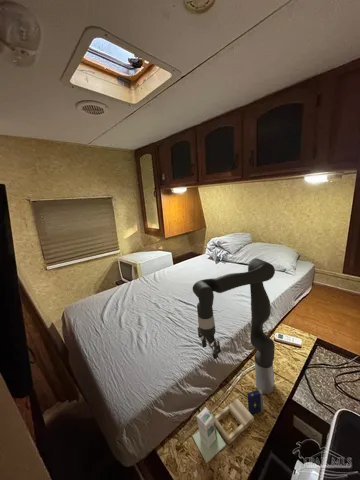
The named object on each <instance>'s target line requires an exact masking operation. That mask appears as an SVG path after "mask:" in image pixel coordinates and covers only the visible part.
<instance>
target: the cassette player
mask: <svg viewBox="0 0 360 480" xmlns="http://www.w3.org/2000/svg"><path fill="white" fill-rule="evenodd" d="M247 408H248V409H247V410H248V411H249V412H250V413H251V415H252V416H254V415H257V414H259V413H262V412H264V410H265V409H264V393H263V392H262V390H261V389H256V390H255V389H254V390H253V391H252V390H251V391H250V392H248V393H247Z"/></svg>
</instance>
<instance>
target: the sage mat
mask: <svg viewBox="0 0 360 480" xmlns="http://www.w3.org/2000/svg"><path fill="white" fill-rule="evenodd" d="M216 432H217V441H216V442H215V444H214V445H213V446H212V447H211V449H210V450H209V449H208V448H207V447H206V446H205V444H204V443H203V442H202V441H201V439H200V434H199V430H198V431H197V432H195V433H194V434H193V435H192V439H193V441H194V442H195V444H196V446H197V448H198V451H199V452H200V453H201V455H202V458H203V460H204V462H205V463H206V464H207V463H209V462H210V461H211V459H213V458H214V457H215V456H216V455H217V454H218V453H219V452H220V451H221V450H222V449H224V448H225V447H226V446H227V444H226V441H225V439H223V438H222V437H223V436H221V433H219V430H217V429H216Z"/></svg>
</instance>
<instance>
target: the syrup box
mask: <svg viewBox="0 0 360 480" xmlns="http://www.w3.org/2000/svg"><path fill="white" fill-rule="evenodd" d="M214 417H215V415H214V414H213V413H212V412H211V410H209V408H207V407H206V406H204V408H203V409H202V410H200V412H199V413H198V414H197V415H196V421H197V425H198V431H199V434H200V439H201V441H202V442H203V443H204V444H205V446H206V447H207V448H208V449H209V450H210V449H211V447H212V446H213V445H214V444H215V442H216V441H217V432H216V430H217V426H216V425H215V418H214Z"/></svg>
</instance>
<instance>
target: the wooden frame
mask: <svg viewBox="0 0 360 480" xmlns="http://www.w3.org/2000/svg"><path fill="white" fill-rule="evenodd" d="M229 413H230V414H231V415H232V417H233V418H234V419H235V421H236V422H237V424H239V426H237V427H236V428H235V429H234V430H233V431H232V432H231V433H229V434H228V433H227V432H226V430H225V429H224V428H223V426H222V424H221V423H220V421H221V420H222V419H223V418H224V417H225V416H227V415H228V414H229ZM214 418H215V425H216V429H218V432H220V435H222V437H223V438H224V441H225V442H226V443H227V444H228V445H230V444H231V443H232V442H233V441H234V440H235V439H236V438H237V437H239V435H241V434H242V432H244V431H245V430H246V429H247V428H248V427H249V426H250V425H252V423H253V422H255V418H254V415H251V413H250V412H249V411H248V409H247V408H246V406H245V405H243V403H242V402H241V401H240V400H239V398H236V399H234V400H233V401H232V402H231V403H230V404H228V405H227V406H225V407H224V408H223V409H222V410H221V411H220V412H218V413H217V414H216V415H214Z"/></svg>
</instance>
